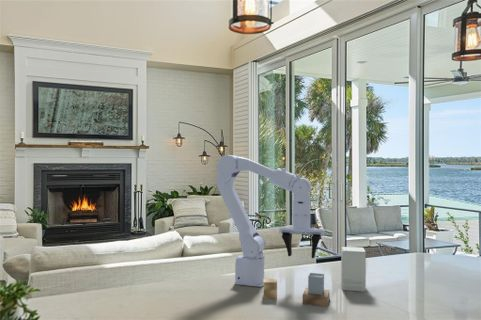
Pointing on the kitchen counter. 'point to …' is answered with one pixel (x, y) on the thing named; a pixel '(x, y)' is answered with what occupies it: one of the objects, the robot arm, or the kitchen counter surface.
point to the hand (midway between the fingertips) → (301, 256)
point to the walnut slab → (316, 298)
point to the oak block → (270, 288)
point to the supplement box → (353, 268)
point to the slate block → (316, 283)
